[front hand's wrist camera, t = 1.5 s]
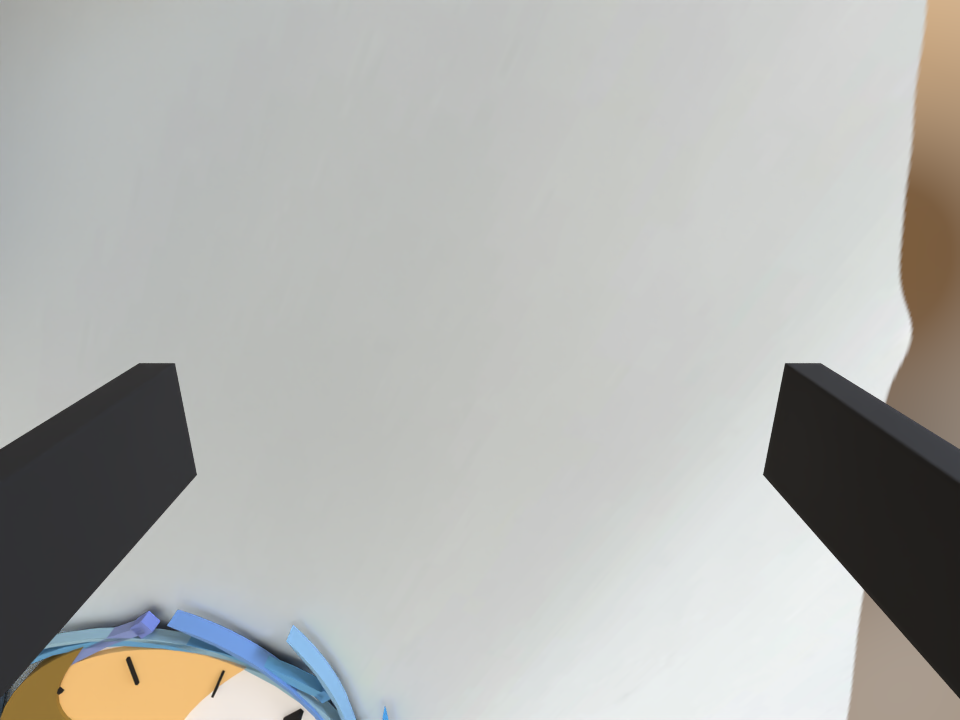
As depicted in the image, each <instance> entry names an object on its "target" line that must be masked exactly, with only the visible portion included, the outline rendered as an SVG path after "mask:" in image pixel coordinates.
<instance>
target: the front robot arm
mask: <svg viewBox="0 0 960 720" xmlns="http://www.w3.org/2000/svg"><path fill="white" fill-rule="evenodd" d="M196 475H197V473H196V468H195V463H194V458H193V453H192V448H191V443H190V438H189V433H188V428H187V423H186V417H185V412H184V407H183V402H182V397H181V392H180V387H179V382H178V377H177V372H176V367H175V363H139V364H137V365H136V366H134V367H133V368H131V369H129V370H128V371H126V372H124V373H123V374H121V375H120V376H118V377H116V378H115V379H113V380H111V381H110V382H108V383H107V384H105V385H103V386H102V387H100V388H99V389H97V390H95V391H94V392H92V393H90V394H89V395H87V396H86V397H84V398H82V399H81V400H79V401H78V402H76V403H74V404H73V405H71V406H69V407H68V408H66V409H65V410H63V411H61V412H60V413H58V414H57V415H55V416H53V417H52V418H50V419H48V420H47V421H45V422H44V423H42V424H40V425H39V426H37V427H36V428H34V429H32V430H31V431H29V432H27V433H26V434H24V435H23V436H21V437H19V438H18V439H16V440H15V441H13V442H11V443H10V444H8V445H6V446H5V447H3V448H2V449H0V698H1V697H2V696H3V695H4V694H5V693H6V691H7V690H8V689H9V688H10V687H11V686H12V685H13V684H14V682H15V681H16V680H17V679H18V678H19V677H20V676H21V674H22V673H23V672H24V671H25V670H26V669H27V668H28V666H29V665H30V664H31V663H32V662H33V661H34V660H35V658H36V657H37V656H38V655H39V654H40V653H41V652H42V651H43V649H44V648H45V647H46V646H47V645H48V644H49V643H50V641H51V640H52V639H53V638H54V637H55V636H56V635H57V633H58V632H59V631H60V630H61V629H62V628H63V627H64V625H65V624H66V623H67V622H68V621H69V620H70V619H71V617H72V616H73V615H74V614H75V613H76V612H77V611H78V610H79V608H80V607H81V606H82V605H83V604H84V603H85V602H86V600H87V599H88V598H89V597H90V596H91V595H92V594H93V592H94V591H95V590H96V589H97V588H98V587H99V586H100V584H101V583H102V582H103V581H104V580H105V579H106V578H107V577H108V575H109V574H110V573H111V572H112V571H113V570H114V569H115V567H116V566H117V565H118V564H119V563H120V562H121V561H122V559H123V558H124V557H125V556H126V555H127V554H128V553H129V551H130V550H131V549H132V548H133V547H134V546H135V545H136V544H137V542H138V541H139V540H140V539H141V538H142V537H143V536H144V534H145V533H146V532H147V531H148V530H149V529H150V528H151V526H152V525H153V524H154V523H155V522H156V521H157V520H158V518H159V517H160V516H161V515H162V514H163V513H164V512H165V510H166V509H167V508H168V507H169V506H170V505H171V504H172V503H173V501H174V500H175V499H176V498H177V497H178V496H179V495H180V493H181V492H182V491H183V490H184V489H185V488H186V487H187V485H188V484H189V483H190V482H191V481H192V480H193V479H194V477H195V476H196ZM763 475H764V476H765V477H766V479H767V480H768V481H769V482H770V483H771V484H772V485H773V487H774V488H775V489H776V490H777V491H778V492H779V493H780V495H781V496H782V497H783V498H784V499H785V500H786V501H787V503H788V504H789V505H790V506H791V507H792V508H793V509H794V510H795V512H796V513H797V514H798V515H799V516H800V517H801V518H802V520H803V521H804V522H805V523H806V524H807V525H808V526H809V528H810V529H811V530H812V531H813V532H814V533H815V534H816V536H817V537H818V538H819V539H820V540H821V541H822V542H823V544H824V545H825V546H826V547H827V548H828V549H829V550H830V551H831V553H832V554H833V555H834V556H835V557H836V558H837V559H838V561H839V562H840V563H841V564H842V565H843V566H844V567H845V569H846V570H847V571H848V572H849V573H850V574H851V575H852V577H853V578H854V579H855V580H856V581H857V582H858V583H859V584H860V586H861V587H862V588H863V589H864V590H865V591H866V592H867V594H868V595H869V596H870V597H871V598H872V599H873V600H874V602H875V603H876V604H877V605H878V606H879V607H880V608H881V609H882V611H883V612H884V613H885V614H886V615H887V616H888V618H889V619H890V620H891V621H892V622H893V623H894V624H895V625H896V627H897V628H898V629H899V630H900V631H901V632H902V633H903V635H904V636H905V637H906V638H907V639H908V640H909V641H910V643H911V644H912V645H913V646H914V647H915V648H916V649H917V650H918V652H919V653H920V654H921V655H922V656H923V657H924V658H925V660H926V661H927V662H928V663H929V664H930V665H931V666H932V668H933V669H934V670H935V671H936V672H937V673H938V674H939V676H940V677H941V678H942V679H943V680H944V681H945V682H946V684H947V685H948V686H949V687H950V688H951V689H952V690H953V691H954V693H955V694H956V695H957V696H958V697H959V698H960V449H958V448H957V447H955V446H954V445H952V444H950V443H949V442H947V441H945V440H944V439H942V438H941V437H939V436H937V435H936V434H934V433H933V432H931V431H929V430H928V429H926V428H924V427H923V426H921V425H920V424H918V423H916V422H915V421H913V420H911V419H910V418H908V417H907V416H905V415H903V414H902V413H900V412H899V411H897V410H895V409H894V408H892V407H891V406H889V405H887V404H886V403H884V402H882V401H881V400H879V399H878V398H876V397H874V396H873V395H871V394H870V393H868V392H866V391H865V390H863V389H861V388H860V387H858V386H857V385H855V384H853V383H852V382H850V381H849V380H847V379H845V378H844V377H842V376H840V375H839V374H837V373H836V372H834V371H832V370H831V369H829V368H827V367H826V366H824V365H823V364H821V363H785V367H784V372H783V377H782V382H781V387H780V392H779V397H778V402H777V407H776V412H775V417H774V423H773V428H772V433H771V438H770V443H769V448H768V453H767V458H766V463H765V468H764V473H763Z"/></svg>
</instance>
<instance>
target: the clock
mask: <svg viewBox="0 0 960 720" xmlns="http://www.w3.org/2000/svg"><path fill="white" fill-rule="evenodd" d="M159 622H160V620H159V619H158V618H157V617H156V616H154V615H153V614H152V613H151V612H150V611H148V612H146V613H145V614H143V615H141V616H140V617H138V618H137V619H136V620H134V621H132V622H129V623H126V624H123V625H120V626H117V627H114V628H94V629H87V630H79V631H72V632H65V633H60V634H57V635H56V636H55V637H54V638H53V639H52V640H51V641H50V643H49V644H48V645H47V646H46V647H45V648H44V649H43V651H42V652H41V653H40V654H39V655H38V656H37V657H36V658H35V660H34V661H33V662H32V663H35V662H37V661H40V660H42V659H44V660H43V661H42V662H41V663H40V664H39V665H38V666H37V667H36V668H35V669H34V670H33V671H32V672H31V673H30V675H29V676H28V677H27V678H26V679H25V680H24V681H23V683H22V684H21V685H20V686H19V687H18V688H17V689H16V690H15V692H14V693H13V694H12V696H11V698H10V699H9V701H8V702H7V704H6V706H5V708H4V710H3V713H2V708H3V703H4V697H5V694H4V695H3V696H2V697H1V698H0V720H356V718H355V715H354V712H353V710H352V707H351V704H350V702H349V699H348V697H347V694H346V692H345V690H344V688H343V686H342V684H341V682H340V680H339V679H338V677H337V675H336V674H335V672H334V671H333V669H332V668H331V666H330V665H329V663H328V662H327V661H326V659H325V658H324V657H323V656H322V654H321V653H320V652H319V651H318V649H317V648H316V647H315V646H314V645H313V644H312V643H311V642H310V641H309V640H308V639H307V637H306V636H305V635H304V634H302V633H301V632H300V631H299V630H298V629H297V628H296V627H295V626H294V625H293V626H292V629H291V631H290V633H289V636H288V638H287V643H288V644H289V645H290V646H291V647H292V648H293V650H294V651H295V652H296V653H297V654H298V655H299V657H300V658H301V659H302V660H303V661H304V662H305V664H306V665H307V666H308V667H309V668H310V669H311V671H312V672H313V673H314V674H315V675H316V676H314V675H312V674H310V673H308V672H306V671H304V670H302V669H300V668H298V667H296V666H293V665H291V664H288V663H286V662H284V661H281V660H279V659H278V658H277V657H275V656H274V655H273V654H271V653H270V652H268V651H267V650H265V649H264V648H262V647H260V646H259V645H257V644H255V643H254V642H252V641H250V640H249V639H247V638H245V637H243V636H241V635H239V634H237V633H235V632H233V631H231V630H229V629H227V628H225V627H223V626H221V625H218V624H216V623H214V622H211V621H209V620H206V619H204V618H201V617H198V616H196V615H193V614H190V613H187V612H184V611H181V610H177V612H176V613H175V615H174V616H173V618H172V619H171V621H170V622H169V624H168V625H167V626H169V627H171V628H173V629H176V630H178V631H180V632H178V631H171V630H165V629H155V628H156V627H157V625H158V624H159ZM45 658H46V659H45ZM32 663H31V664H32ZM330 699H331V700H332V702H333V703H334V705H335V706H336V708H337V710H336V709H335V708H334V707H333V706H332V705H331V704H330V703H329V702H328V700H330ZM1 713H2V715H1ZM383 720H388V716H387V711H386V708H384V714H383Z"/></svg>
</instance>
